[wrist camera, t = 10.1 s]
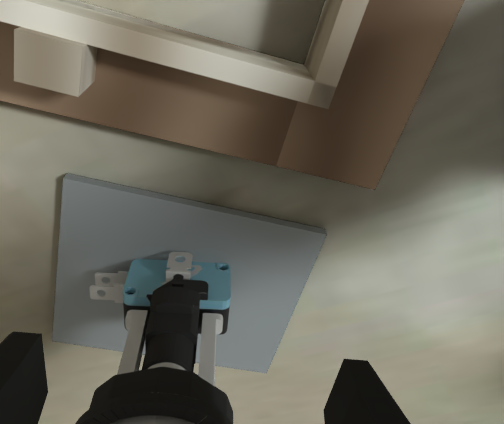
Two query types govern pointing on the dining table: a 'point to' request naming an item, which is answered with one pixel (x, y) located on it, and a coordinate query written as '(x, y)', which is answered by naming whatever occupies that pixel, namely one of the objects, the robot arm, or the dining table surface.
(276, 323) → the rubber mat
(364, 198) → the dining table surface
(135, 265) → the push button
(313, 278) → the dining table surface
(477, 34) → the dining table surface
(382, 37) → the brown flat rectangular frame
